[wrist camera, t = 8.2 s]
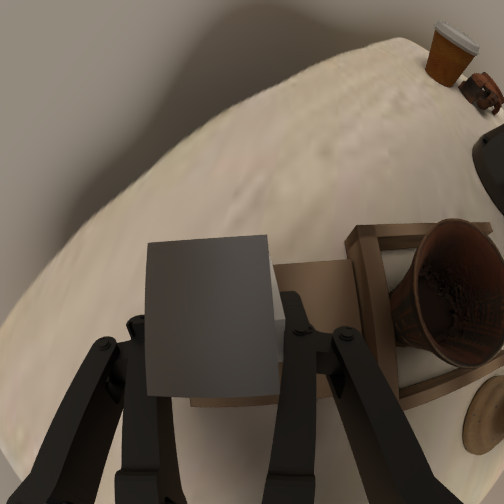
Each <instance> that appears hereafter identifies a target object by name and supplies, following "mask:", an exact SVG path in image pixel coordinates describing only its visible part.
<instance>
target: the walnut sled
mask: <svg viewBox="0 0 504 504" xmlns="http://www.w3.org/2000/svg"><path fill="white" fill-rule="evenodd" d="M471 223H473V224H474V225H476V226H477V227H479V228H480V229H481V230H483V231H484V233H486V234H487V235H488V234H490V233H491V232H493V230H492V227H491V224H490V222H471ZM435 224H436V223H412V224H378V225H356V226H355V228H354V229H353V231H352V232H351V233H350V235H349V236H348V237H347V239H346V240H345V245H346V251H347V256H348V259H347V260H334V261H321V262H307V263H293V264H278V265H273V269H274V273H275V277H276V281H277V286H278V290H279V292H283V291H295V292H297V293H298V294H299V295H300V297H301V300H302V303H303V306H304V309H305V312H306V315H307V318H308V320H309V323H310V324H311V325H312V326H313V327H314V328H315V330H317V331H319V332H324V333H332V334H333V332H334V330H335V329H336V328H338V327H341V326H349V327H353V328H355V329H357V330H358V331H359V332H360V334H361V335H362V337H363V339H364V340H365V342H366V344H367V346H368V347H369V349H370V351H371V353H372V355H373V356H374V358H375V360H376V362H377V363H378V365H379V367H380V369H381V371H382V373H383V374H384V376H385V378H386V380H387V382H388V384H389V385H390V387H391V389H392V391H393V393H394V395H395V397H396V399H397V401H398V403H399V404H400V406H401V408H402V410H403V411H404V410H407V409H410V408H413V407H416V406H419V405H421V404H424V403H427V402H429V401H432V400H434V399H437V398H439V397H442V396H444V395H446V394H449V393H451V392H453V391H455V390H457V389H460V388H462V387H464V386H466V385H468V384H470V383H472V382H474V381H476V380H478V379H480V378H482V377H484V376H485V375H487V374H489V373H491V372H493V371H494V370H496V369H498V368H500V367H501V366H503V365H504V350H500V352H499V353H498V354H497V355H496V356H495V357H494V358H493V359H491V360H490V361H489V362H488V363H487V364H485V365H483V366H481V367H478V368H473V369H464V368H459V369H456V370H454V371H452V372H449V373H447V374H444V375H441V376H439V377H436V378H433V379H431V380H428V381H425V382H422V383H419V384H416V385H413V386H410V387H407V388H403V389H400V390H399V384H398V368H397V355H396V345H395V336H394V327H393V322H392V317H391V306H390V300H389V294H388V288H387V282H386V277H385V272H384V267H383V262H382V257H381V253H380V250H387V249H400V248H414V247H418V246H419V244H420V242H421V240H422V238H423V237H424V235H425V234H426V233H427V231H428V230H429V229H430V228H431V227H432V226H434V225H435ZM145 363H146V382H147V395H148V396H162V397H184V398H190V405H191V407H239V406H257V405H270V404H278V401H279V394H280V385H281V376H282V368H283V362H278V357H277V344H276V331H275V319H274V307H273V295H272V284H271V273H270V262H269V251H268V241H267V235H254V236H238V237H223V238H208V239H193V240H180V241H166V242H153V243H148V248H147V263H146V283H145ZM316 385H317V387H316V399H320V398H326V397H332V396H333V394H332V391H331V389H330V386H329V383H328V380H327V378H326V375H324V374H316Z"/></svg>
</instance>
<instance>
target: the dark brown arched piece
mask: <svg viewBox="0 0 504 504" xmlns="http://www.w3.org/2000/svg"><path fill="white" fill-rule="evenodd" d="M459 88H460V89H461V90H462V92H463V94H464V95H465V96H466V98H467V99H468V101H469V102H470V103H472V102H473V101H475V100H476V99H477V104H478V107H480V108H481V109H483V110H485V109H487V108H488V107H492V106H494V110H493V111H492V113H493V114H495V115H496V114H497V113H498V112H499V110H500V108H501V107H502V106H501V105H502V104H503V103H504V97H503V95H502V93H501V91H500V89H499V88H498V86H497V85H496V83H495V82H494V81H493V79H492V78H491V77H490V76H489V75H488V74H487V73H485V72H483V73H482V74H479V73H474V74H472V77H469V79H467V81H463V82H462V83H461V84H460V86H459ZM482 88H484V90H485V91H484V90H482Z"/></svg>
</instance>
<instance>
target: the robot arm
mask: <svg viewBox="0 0 504 504" xmlns="http://www.w3.org/2000/svg"><path fill="white" fill-rule="evenodd" d="M473 159H474V163H475V166H476V169H477V172H478V174H479V176H480V178H481V181H482V183H483V184H484V186H485V188H486V190H487V192H488V193H489V195H490V196H491V198H492V200H493V201H494V202H495V204H496V205H497V207H498V208H499V209H500V210H501V212H502V213H503V214H504V124H502V125H501V126H499V127H497V128H495V129H493V130H491V131H489V132H487V133H486V134H484V135H482V136H481V137H480V139H479V140H478V141H477V142H476V144H475V145H474V147H473ZM269 262H270V273H271V284H272V295H273V307H274V319H275V331H276V344H277V357H278V362H283V368H282V376H281V385H280V394H279V401H278V409H277V416H276V424H275V431H274V438H273V445H272V451H271V458H270V464H269V470H268V474H267V478H266V483H265V488H264V494H263V499H262V504H314V496H315V475H314V461H315V440H316V387H317V385H316V374H324V375H326V378H327V380H328V383H329V386H330V389H331V391H332V394H333V397H334V400H335V403H336V405H337V408H338V411H339V414H340V417H341V420H342V423H343V425H344V428H345V431H346V434H347V437H348V440H349V443H350V446H351V449H352V452H353V455H354V458H355V461H356V464H357V467H358V470H359V473H360V476H361V479H362V482H363V485H364V489H365V492H366V495H367V498H368V501H369V503H370V504H463V503H462V502H461V501H460V500H459V499H458V498H457V497H456V496H455V495H454V494H452V493H451V492H450V491H449V490H448V489H447V488H446V487H445V486H444V485H443V484H442V483H441V482H440V481H438V480H437V479H436V478H435V477H434V475H433V473H432V471H431V468H430V466H429V464H428V462H427V460H426V457H425V455H424V453H423V451H422V449H421V447H420V445H419V443H418V440H417V438H416V436H415V434H414V432H413V430H412V428H411V426H410V424H409V422H408V420H407V418H406V416H405V414H404V412H403V410H402V408H401V406H400V404H399V403H398V401H397V399H396V397H395V395H394V393H393V391H392V389H391V387H390V385H389V384H388V382H387V380H386V378H385V376H384V374H383V373H382V371H381V369H380V367H379V365H378V363H377V362H376V360H375V358H374V356H373V355H372V353H371V351H370V349H369V347H368V346H367V344H366V342H365V340H364V339H363V337H362V335H361V334H360V332H359V331H358V330H357V329H355V328H353V327H349V326H341V327H338V328H336V329H335V330H334V332H333V334H332V333H324V332H319V331H317V330H315V328H314V327H313V326H312V325H311V324H310V323H309V320H308V318H307V315H306V312H305V309H304V306H303V303H302V300H301V297H300V295H299V294H298V293H297V292H295V291H283V292H279V290H278V286H277V281H276V277H275V273H274V269H273V265H272V261H271V257H270V254H269ZM126 326H127V329H128V331H129V334H130V337H131V340H129V341H125V342H120V343H117V342H116V340H115V339H114V338H113V337H109V336H107V337H102V338H99V339H98V340H96V341H95V343H94V344H93V345H92V347H91V349H90V350H89V352H88V354H87V356H86V357H85V359H84V361H83V363H82V364H81V366H80V368H79V370H78V372H77V374H76V375H75V377H74V379H73V381H72V383H71V385H70V387H69V389H68V390H67V392H66V394H65V396H64V398H63V400H62V402H61V404H60V406H59V408H58V410H57V412H56V414H55V417H54V419H53V421H52V423H51V425H50V427H49V429H48V432H47V434H46V436H45V438H44V441H43V443H42V445H41V448H40V450H39V453H38V455H37V457H36V460H35V462H34V465H33V468H32V470H31V473H30V474H29V475H28V476H27V477H26V479H25V480H24V481H23V482H22V483H21V485H20V486H19V487H18V488H17V489H16V490H15V492H14V493H13V494H12V495H11V496H10V497H9V499H8V501H7V503H6V504H94V502H95V499H96V496H97V492H98V488H99V484H100V481H101V477H102V474H103V470H104V467H105V463H106V460H107V457H108V453H109V450H110V447H111V444H112V440H113V437H114V434H115V431H116V428H117V425H118V422H119V419H120V416H121V413H122V411H123V425H122V466H121V470H119V471H117V472H116V474H115V480H114V482H115V504H187V501H186V498H185V496H184V493H183V491H182V487H181V481H180V474H179V467H178V460H177V452H176V443H175V434H174V424H173V412H172V399H171V397H162V396H148V395H147V382H146V363H145V315H138V316H135V317H133V318H131V319H130V320H129V321H128V322H127V324H126Z"/></svg>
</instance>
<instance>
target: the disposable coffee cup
mask: <svg viewBox="0 0 504 504" xmlns="http://www.w3.org/2000/svg"><path fill="white" fill-rule="evenodd" d="M434 25H435V33H434V37H433V41H432V45H431V50H430V53H429V57H428V61H427V64H426V68H425V70H426V72H427V73H428V74H429V75H430V76H431V77H432V78H433V79H434V80H436V81H437V82H439V83H440V84H442V85H444V86H447V87H452V86H453V84H454V83H455V82H456V81H457V79H458V78H459V77H460V75H461V74H462V73H463V71H464V70H465V69H466V68H467V66H468V65H469V64H470V62H471V61H472V60H473V58H474V57H475V56H477V54H479V45H478V44H477V43H476V42H475V41H474V40H473V39H471V38H470V37H469V36H468V35H466V34H465V33H463V32H462V31H460V30H459V29H457V28H456V27H454V26H452V25H450V24H448V23H446V22H444V21H441V20H439V21H438V22H437V23H436V24H434Z"/></svg>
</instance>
